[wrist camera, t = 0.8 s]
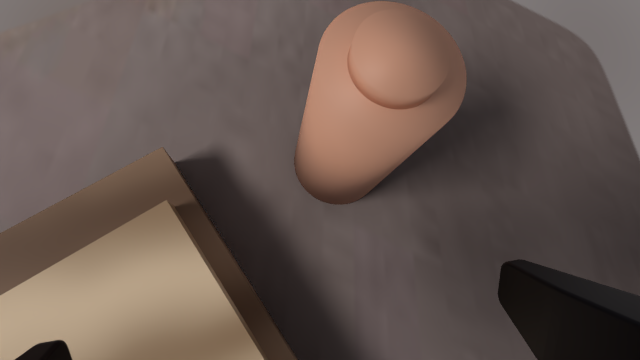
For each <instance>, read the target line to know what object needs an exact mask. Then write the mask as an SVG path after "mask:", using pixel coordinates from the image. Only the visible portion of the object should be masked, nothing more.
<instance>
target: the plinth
mask: <svg viewBox="0 0 640 360" xmlns="http://www.w3.org/2000/svg"><path fill="white" fill-rule="evenodd" d="M54 340H63V341H65V343H66V344H67V346H68V348H69V351H70V354H71V357H72V360H298V359H297V357H296V356H295V354H294V353H293V351H292V350H291V348H290V346H289V345H288V343H287V342H286V340H285V338H284V337H283V335H282V334H281V332H280V330H279V329H278V327H277V326H276V324H275V322H274V321H273V319H272V318H271V316H270V314H269V313H268V311H267V310H266V308H265V306H264V305H263V303H262V302H261V300H260V298H259V297H258V295H257V294H256V292H255V290H254V289H253V287H252V286H251V284H250V282H249V281H248V279H247V278H246V276H245V274H244V273H243V271H242V270H241V268H240V266H239V265H238V263H237V262H236V260H235V259H234V257H233V255H232V254H231V252H230V251H229V249H228V247H227V246H226V244H225V243H224V241H223V239H222V238H221V236H220V235H219V233H218V231H217V230H216V228H215V227H214V225H213V223H212V222H211V220H210V219H209V217H208V215H207V214H206V212H205V211H204V209H203V207H202V206H201V204H200V203H199V201H198V199H197V198H196V196H195V195H194V193H193V191H192V190H191V188H190V187H189V185H188V183H187V182H186V180H185V179H184V177H183V175H182V174H181V172H180V171H179V169H178V167H177V166H176V164H175V163H174V161H173V160H172V159H171V157H170V156H169V155H168V153H167V152H166V151H165V149H164V148H163V147H161V148H159V149H158V150H156V151H154V152H152V153H150V154H148V155H146V156H144V157H143V158H141V159H139V160H137V161H135V162H133V163H131V164H129V165H127V166H126V167H124V168H122V169H120V170H118V171H116V172H114V173H112V174H111V175H109V176H107V177H105V178H103V179H101V180H99V181H97V182H96V183H94V184H92V185H90V186H88V187H86V188H84V189H82V190H81V191H79V192H77V193H75V194H73V195H71V196H69V197H67V198H66V199H64V200H62V201H60V202H58V203H56V204H54V205H52V206H51V207H49V208H47V209H45V210H43V211H41V212H39V213H37V214H36V215H34V216H32V217H30V218H28V219H26V220H24V221H22V222H21V223H19V224H17V225H15V226H13V227H11V228H9V229H7V230H6V231H4V232H2V233H0V360H15V359H16V358H18V357H19V356H20V355H22V354H23V353H25V352H26V351H27V350H29V349H30V348H32V347H33V346H34V345H36V344H39V343H43V342H49V341H54Z"/></svg>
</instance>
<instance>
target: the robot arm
mask: <svg viewBox="0 0 640 360" xmlns="http://www.w3.org/2000/svg"><path fill="white" fill-rule="evenodd" d="M498 297H499V301H500V303H501V305H502V307H503V308H504V310H505V311H506V313H507V314H508V316H509V317H510V319H511V320H512V322H513V323H514V325H515V326H516V328H517V329H518V331H519V332H520V334H521V335H522V337H523V338H524V340H525V341H526V343H527V344H528V346H529V347H530V349H531V350H532V352H533V353H534V355H535V356H536V358H537V359H538V360H640V296H638V295H634V294H631V293H628V292H625V291H622V290H618V289H615V288H612V287H609V286H606V285H602V284H599V283H596V282H593V281H589V280H586V279H583V278H580V277H577V276H573V275H570V274H567V273H564V272H561V271H557V270H554V269H551V268H548V267H544V266H541V265H538V264H535V263H532V262H528V261H525V260H514V261H508V262H505V263H503V265H502V266H501V272H500V280H499V288H498ZM15 360H72V357H71V354H70V351H69V348H68V346H67V344H66V343H65V341H63V340H54V341H49V342H43V343H39V344H36V345H34V346H33V347H32V348H30V349H29V350H27V351H26V352H25V353H23V354H22V355H20V356H19V357H18V358H16V359H15Z"/></svg>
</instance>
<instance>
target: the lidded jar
mask: <svg viewBox="0 0 640 360" xmlns="http://www.w3.org/2000/svg"><path fill="white" fill-rule="evenodd" d="M466 83H467V75H466V67H465V63H464V60H463V57H462V54H461V52H460V49H459V48H458V46H457V44H456V42H455V41H454V39H453V38H452V37H451V35H450V34H449V33H448V32H447V30H446V29H445V28H444V27H443V26H442V25H441V24H439V23H438V22H437V21H436V20H435V19H433V18H432V17H430V16H429V15H427V14H426V13H424V12H422V11H420V10H418V9H416V8H413V7H411V6H408V5H405V4H401V3H396V2H388V1H374V2H367V3H363V4H359V5H356V6H354V7H352V8H349V9H348V10H346V11H344V12H343V13H341V14H340V15H339V16H337V17H336V18H335V19H334V20H333V21H332V22H331V23H330V25H329V26H328V27H327V29H326V30H325V32H324V34H323V36H322V38H321V41H320V45H319V48H318V53H317V57H316V62H315V66H314V71H313V75H312V80H311V84H310V89H309V93H308V98H307V102H306V107H305V111H304V116H303V120H302V124H301V129H300V133H299V138H298V142H297V147H296V151H295V157H294V165H295V171H296V175H297V177H298V179H299V181H300V183H301V185H302V186H303V187H304V188H305V190H306V191H307V192H308V193H309V194H311V195H312V196H313V197H315V198H317V199H318V200H321V201H323V202H326V203H330V204H348V203H352V202H354V201H357V200H359V199H360V198H362V197H363V196H365V195H366V194H367V193H368V192H369V191H371V190H372V189H373V188H374V187H375V186H376V185H377V184H378V183H380V182H381V181H382V180H383V179H384V178H385V177H386V176H387V175H389V174H390V173H391V172H392V171H393V170H394V169H395V168H396V167H398V166H399V165H400V164H401V163H402V162H403V161H404V160H405V159H407V158H408V157H409V156H410V155H411V154H412V153H413V152H415V151H416V150H417V149H418V148H419V147H420V146H421V145H422V144H424V143H425V142H426V141H427V140H428V139H429V138H430V137H431V136H433V135H434V134H435V133H436V132H437V131H438V130H439V129H440V128H442V127H443V126H444V125H445V124H446V123H447V122H448V121H449V120H450V119H451V118H452V117H453V116H454V115H455V113H456V112H457V110H458V109H459V107H460V105H461V103H462V101H463V98H464V95H465V91H466Z"/></svg>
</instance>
